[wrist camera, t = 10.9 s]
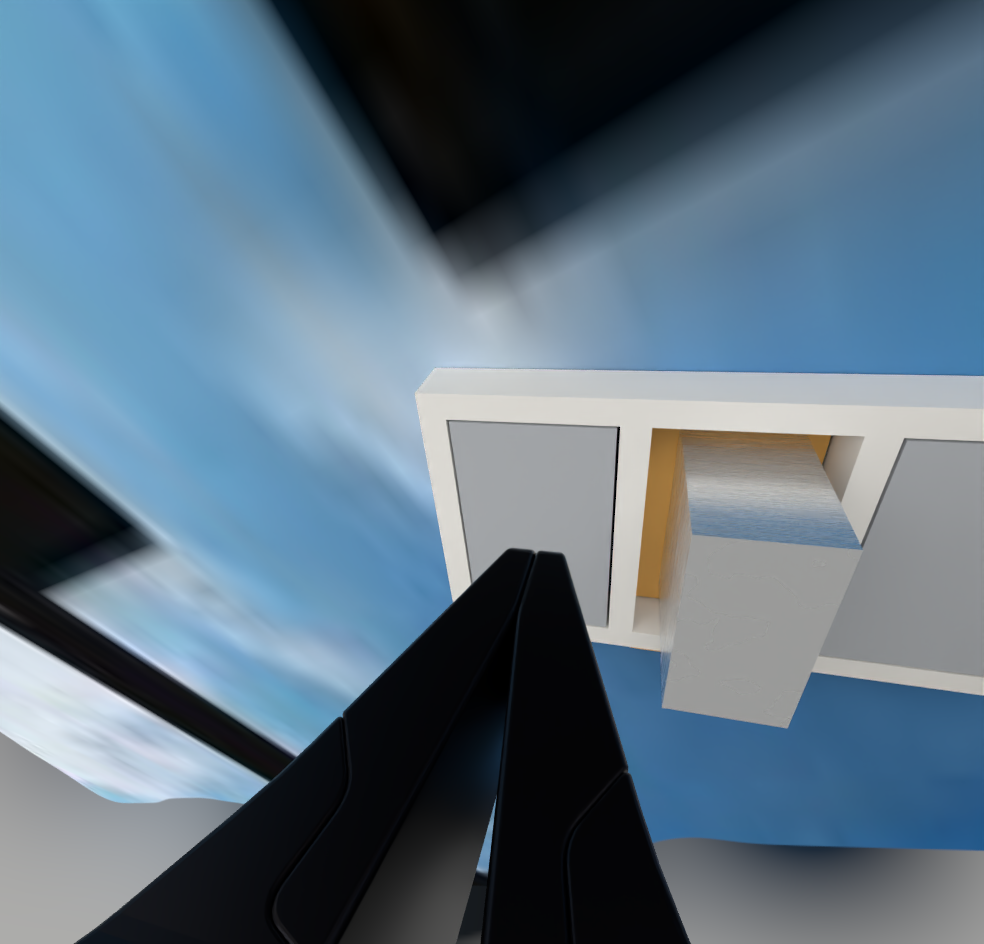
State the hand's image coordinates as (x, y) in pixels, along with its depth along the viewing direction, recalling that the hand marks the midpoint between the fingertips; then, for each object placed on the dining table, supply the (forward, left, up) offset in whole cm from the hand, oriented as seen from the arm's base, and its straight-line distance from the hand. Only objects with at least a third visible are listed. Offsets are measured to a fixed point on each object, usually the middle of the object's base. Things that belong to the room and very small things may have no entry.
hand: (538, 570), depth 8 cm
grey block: (-5, +8, -12) cm, 15 cm away
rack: (-5, +8, -12) cm, 15 cm away
